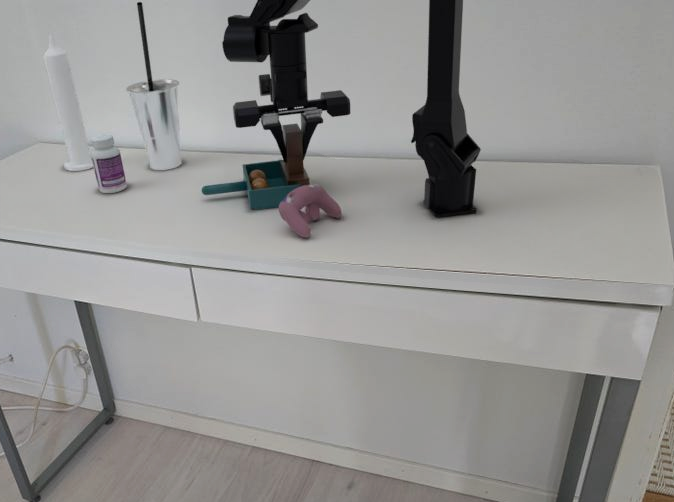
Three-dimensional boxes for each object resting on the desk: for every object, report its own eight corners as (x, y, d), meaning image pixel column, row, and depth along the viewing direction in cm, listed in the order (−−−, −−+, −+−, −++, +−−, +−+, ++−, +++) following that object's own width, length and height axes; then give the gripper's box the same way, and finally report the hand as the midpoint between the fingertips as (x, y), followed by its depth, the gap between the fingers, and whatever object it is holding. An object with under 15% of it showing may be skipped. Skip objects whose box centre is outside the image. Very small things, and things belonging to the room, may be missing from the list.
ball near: (271, 182, 115) (256, 172, 113) (273, 188, 112) (258, 178, 111) (261, 197, 116) (245, 187, 115) (263, 203, 113) (247, 194, 112)
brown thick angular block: (300, 174, 120) (297, 119, 115) (310, 194, 112) (307, 135, 106) (281, 176, 120) (277, 121, 115) (288, 196, 112) (285, 138, 106)
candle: (63, 163, 141) (30, 35, 127) (96, 157, 143) (67, 29, 129) (66, 173, 136) (31, 39, 122) (100, 167, 137) (70, 34, 123)
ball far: (265, 183, 120) (264, 166, 118) (267, 190, 117) (266, 172, 115) (248, 185, 119) (246, 168, 118) (249, 192, 117) (248, 174, 115)
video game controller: (324, 221, 108) (307, 181, 106) (345, 214, 104) (328, 172, 102) (288, 245, 102) (268, 202, 100) (309, 238, 98) (289, 193, 96)
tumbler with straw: (168, 178, 128) (139, 2, 111) (128, 170, 134) (94, 3, 117) (205, 161, 134) (182, -7, 118) (165, 154, 140) (138, -7, 124)
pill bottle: (133, 185, 126) (123, 134, 121) (113, 195, 122) (102, 142, 117) (112, 182, 129) (101, 131, 123) (93, 191, 125) (80, 140, 120)
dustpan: (289, 176, 122) (288, 158, 120) (301, 204, 111) (300, 185, 109) (201, 187, 122) (199, 169, 120) (204, 216, 110) (201, 196, 108)
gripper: (336, 47, 112) (338, 141, 121) (226, 60, 111) (236, 153, 120) (350, 59, 103) (351, 159, 111) (230, 73, 102) (241, 173, 111)
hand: (293, 160), depth 114 cm, fingers closed on brown thick angular block, 2 cm apart
